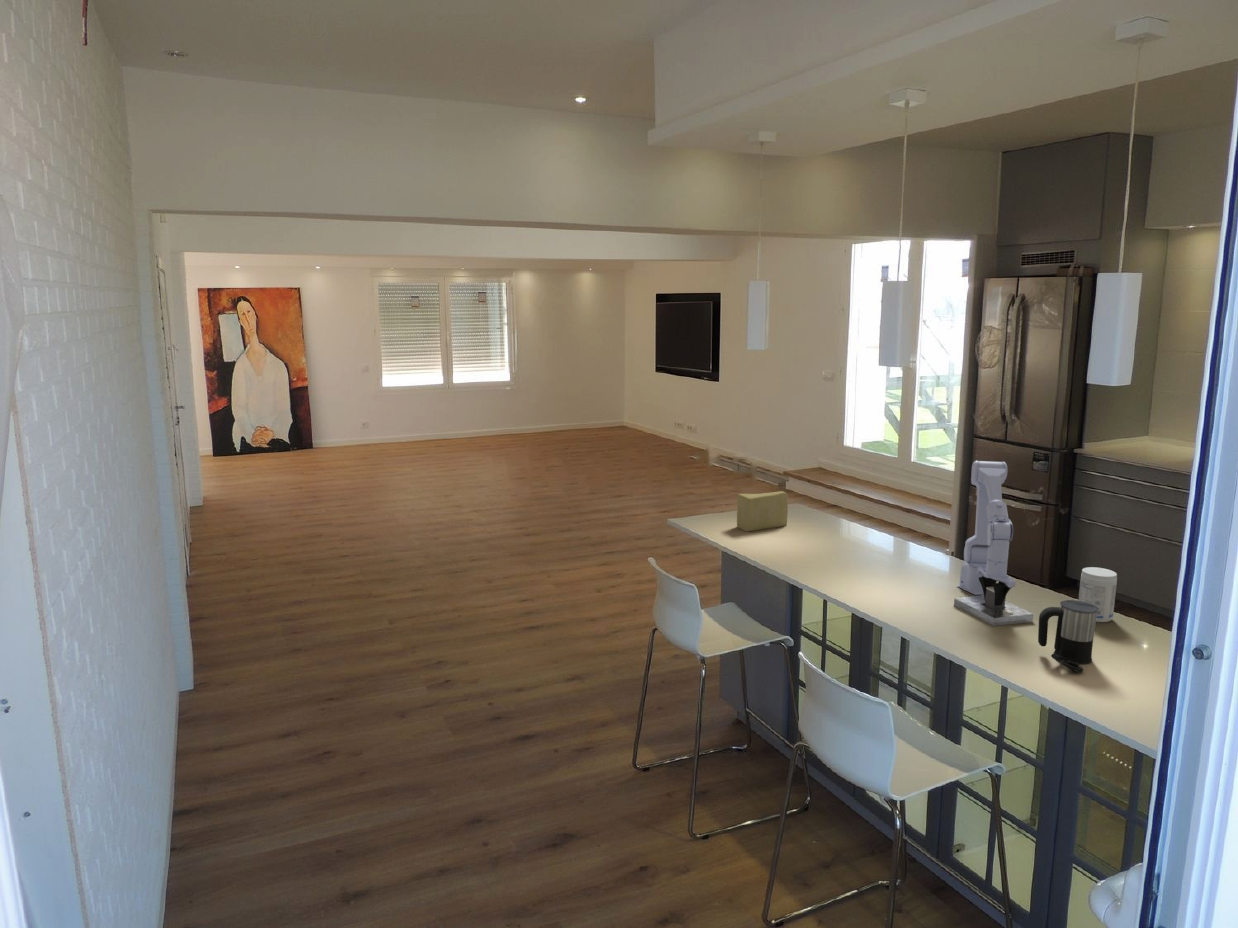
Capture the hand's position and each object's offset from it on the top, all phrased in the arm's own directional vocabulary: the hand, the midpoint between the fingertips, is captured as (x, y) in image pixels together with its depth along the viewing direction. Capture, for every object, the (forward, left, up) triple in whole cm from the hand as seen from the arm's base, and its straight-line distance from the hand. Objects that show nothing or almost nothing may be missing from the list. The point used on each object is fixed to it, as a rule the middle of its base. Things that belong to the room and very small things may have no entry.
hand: (993, 602), depth 258 cm
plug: (0, +1, -2) cm, 2 cm away
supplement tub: (+11, +28, -4) cm, 30 cm away
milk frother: (+36, -5, -4) cm, 37 cm away
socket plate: (0, 0, -3) cm, 3 cm away
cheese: (-112, -23, -4) cm, 115 cm away
